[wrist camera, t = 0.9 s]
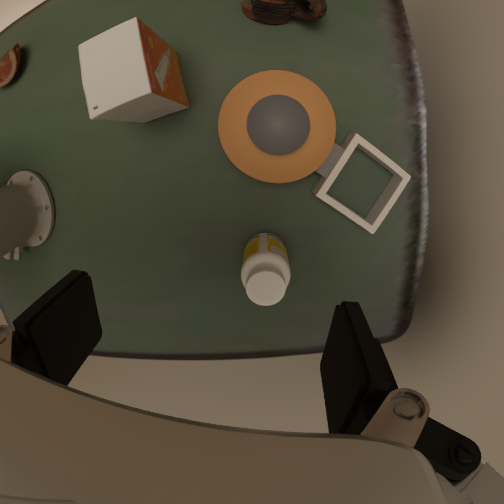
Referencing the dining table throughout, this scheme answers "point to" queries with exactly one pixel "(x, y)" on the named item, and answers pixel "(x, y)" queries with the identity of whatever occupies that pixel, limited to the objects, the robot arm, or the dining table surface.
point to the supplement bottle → (265, 269)
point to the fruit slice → (9, 65)
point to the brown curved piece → (284, 10)
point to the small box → (131, 75)
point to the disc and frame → (296, 139)
